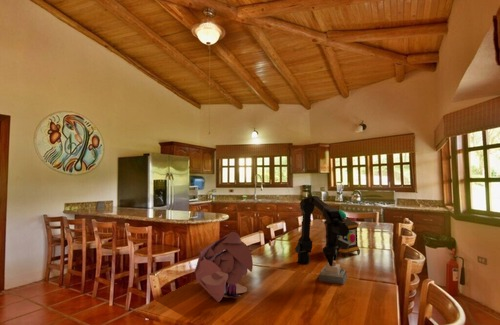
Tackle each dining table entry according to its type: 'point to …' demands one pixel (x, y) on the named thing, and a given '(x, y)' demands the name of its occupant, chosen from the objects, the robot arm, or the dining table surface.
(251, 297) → the dining table surface
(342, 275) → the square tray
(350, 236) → the decorative lantern
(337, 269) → the beige cube with knob
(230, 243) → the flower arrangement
